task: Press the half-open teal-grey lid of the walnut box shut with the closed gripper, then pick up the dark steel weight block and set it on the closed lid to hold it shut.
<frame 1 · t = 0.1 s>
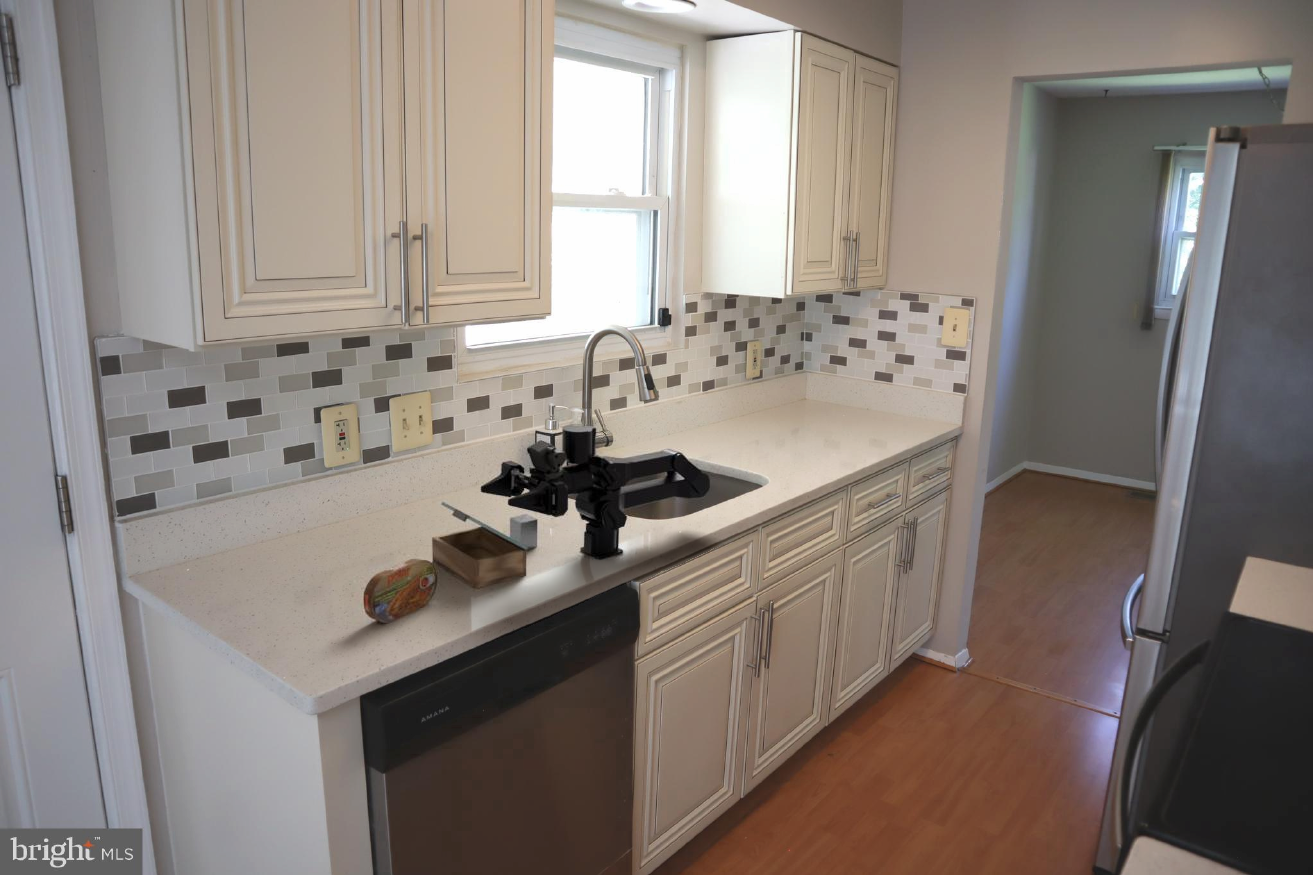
hand: (494, 495, 167), 17 cm above the worktop, tool horizontal, fingers open, 9 cm apart
weight: (523, 546, 189), on the worktop
lid: (481, 526, 175), point 8 cm above the worktop, hinge at 35.0°
box: (478, 568, 177), on the worktop
tin: (401, 613, 157), on the worktop
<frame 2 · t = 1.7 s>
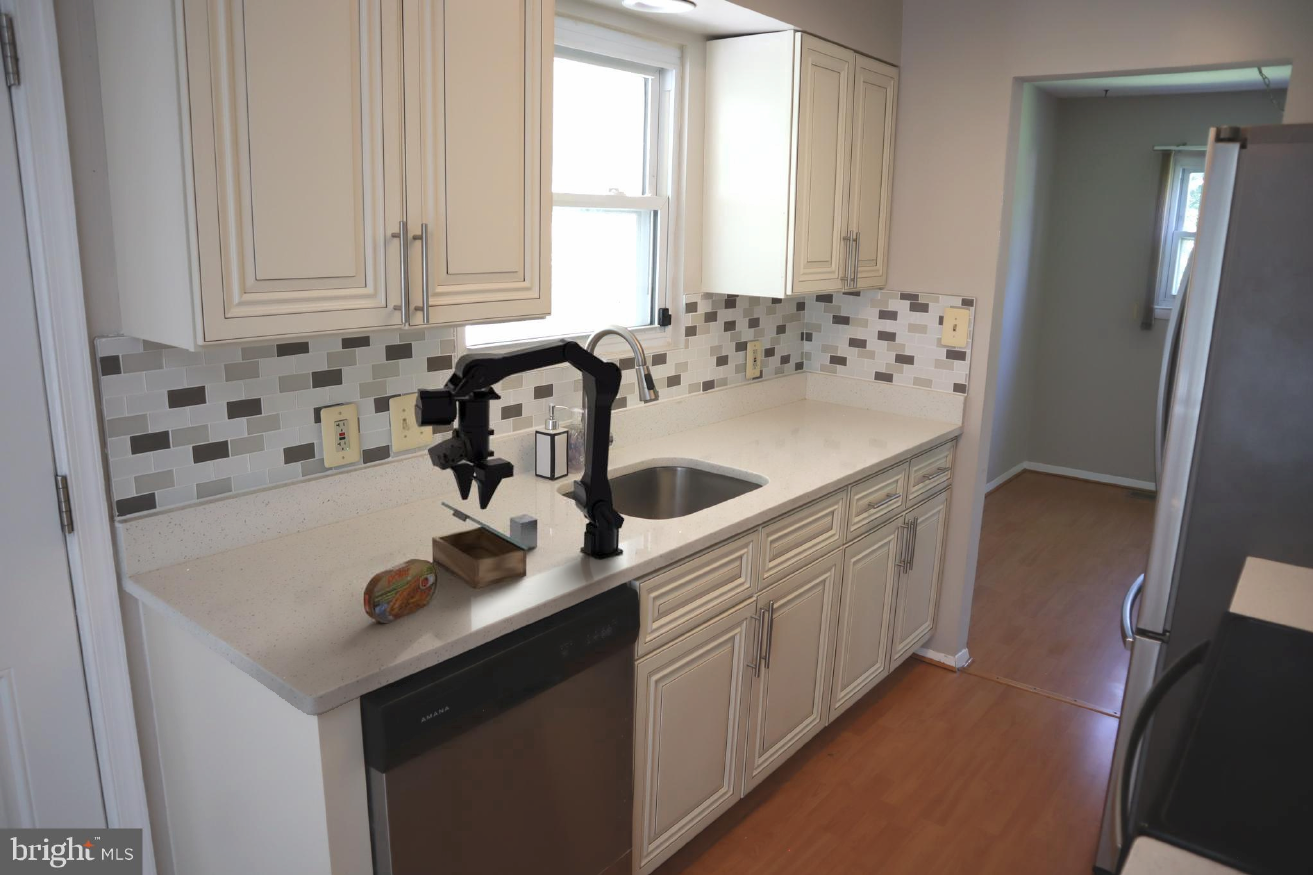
hand: (473, 504, 173), 13 cm above the worktop, tool pointing down, fingers open, 6 cm apart
nothing on the worktop moved.
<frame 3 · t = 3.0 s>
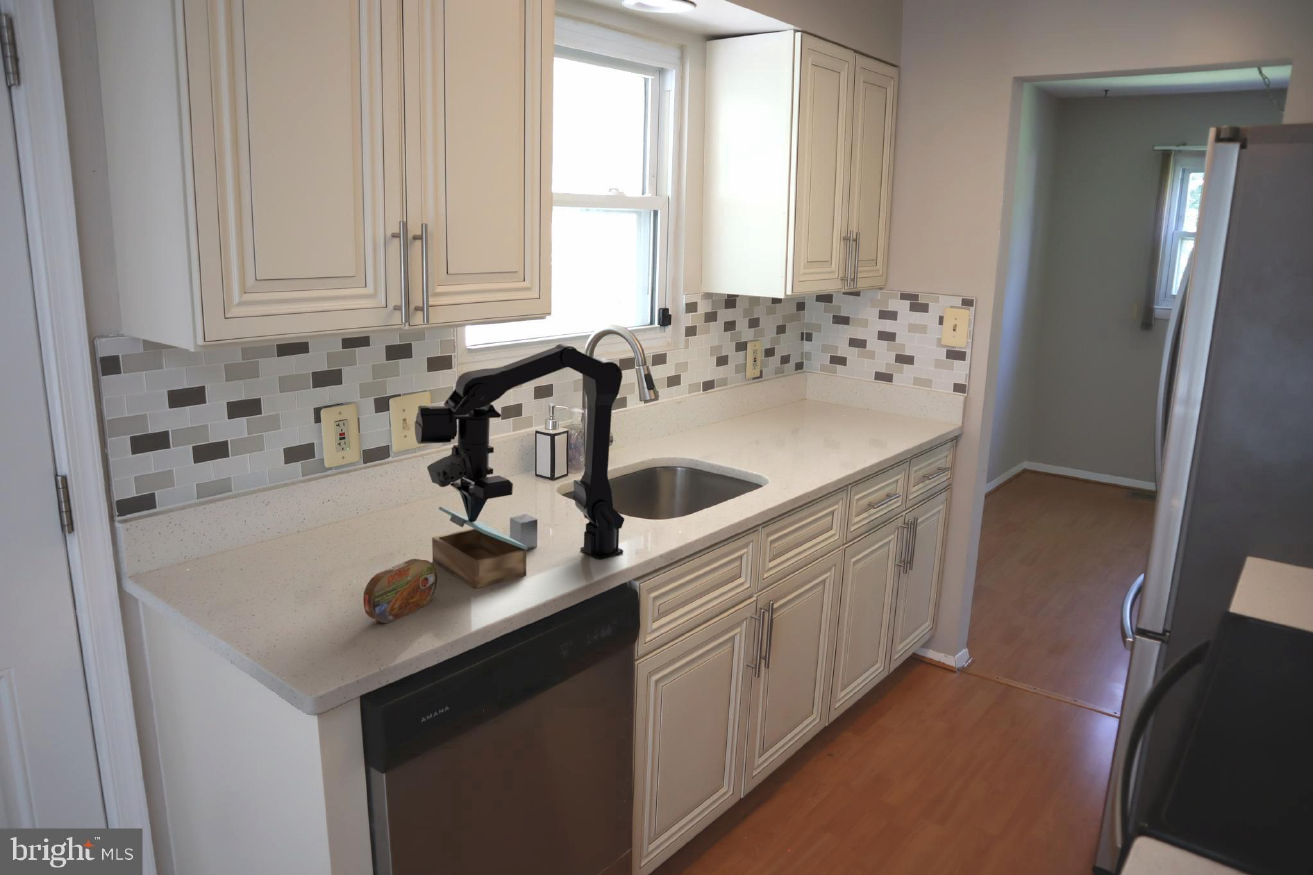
hand: (472, 521, 173), 10 cm above the worktop, tool pointing down, fingers closed, pressing on lid
lid: (480, 529, 175), point 8 cm above the worktop, hinge at 29.6°, touching gripper
everything else where it was.
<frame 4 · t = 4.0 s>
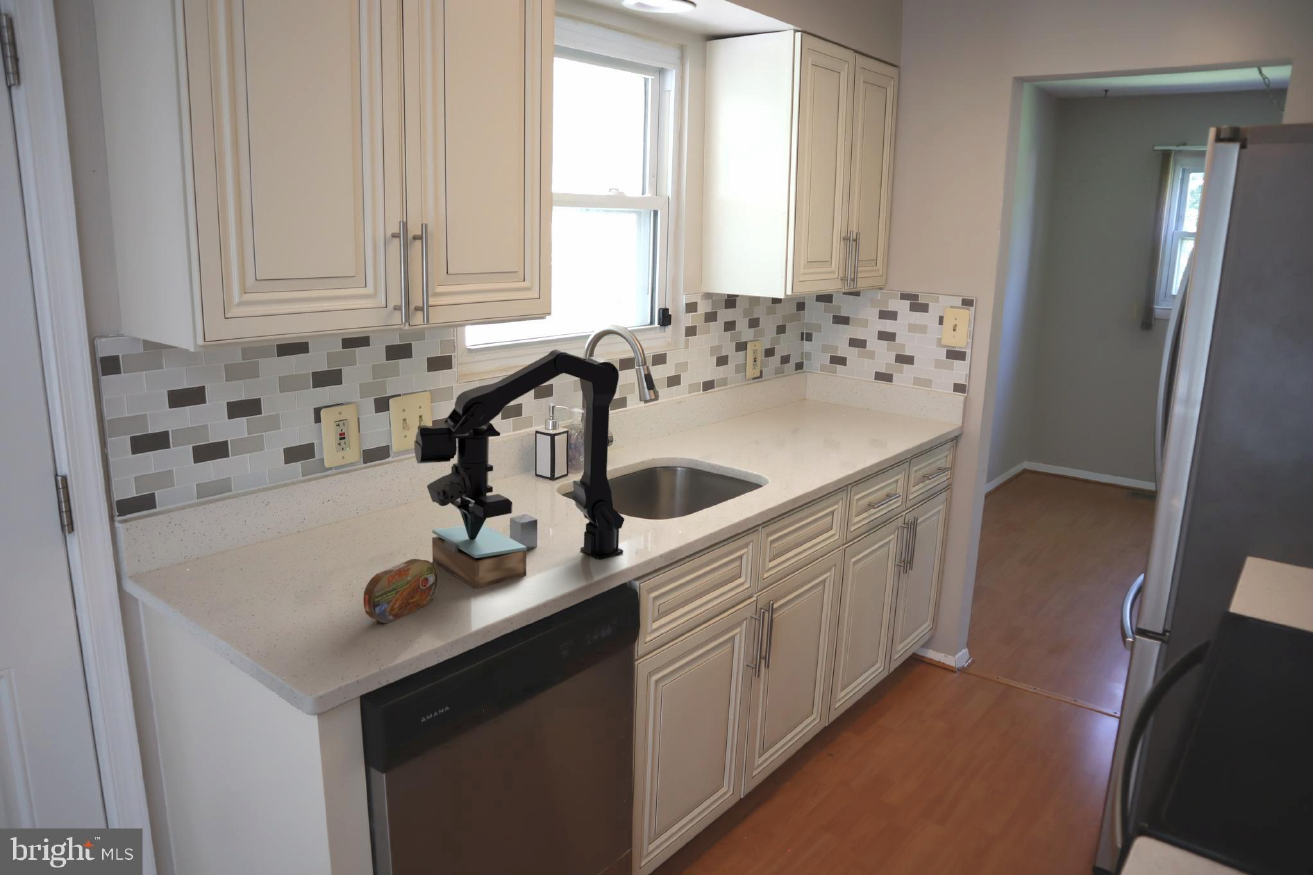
hand: (472, 539, 174), 6 cm above the worktop, tool pointing down, fingers closed, pressing on lid
lid: (477, 542, 175), point 5 cm above the worktop, hinge at 4.9°, touching box, gripper
everything else where it was.
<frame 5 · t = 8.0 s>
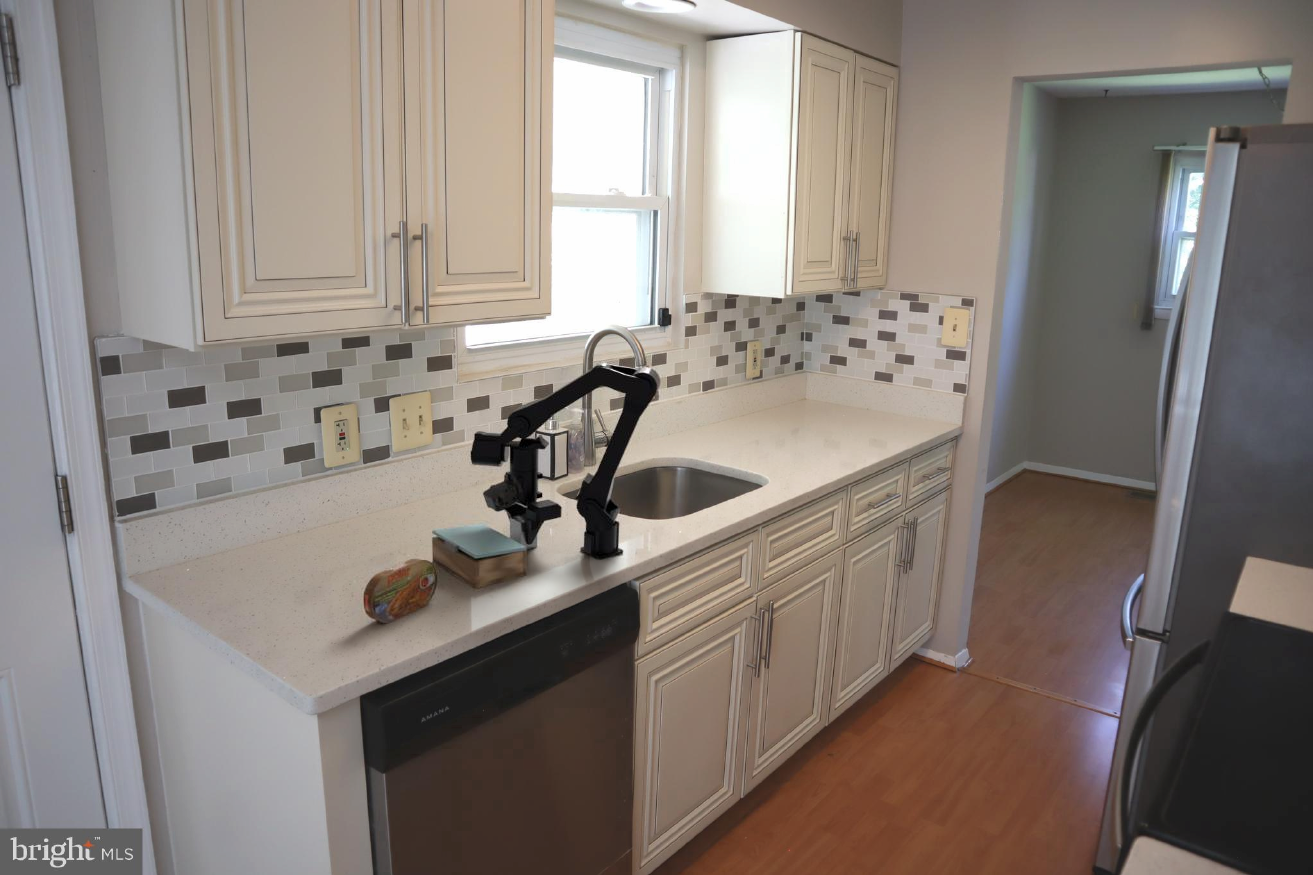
hand: (523, 541, 189), 1 cm above the worktop, tool pointing down, fingers closed on weight, 4 cm apart
weight: (523, 545, 189), on the worktop, touching gripper
lid: (477, 542, 175), point 5 cm above the worktop, hinge at 4.4°
everything else where it was.
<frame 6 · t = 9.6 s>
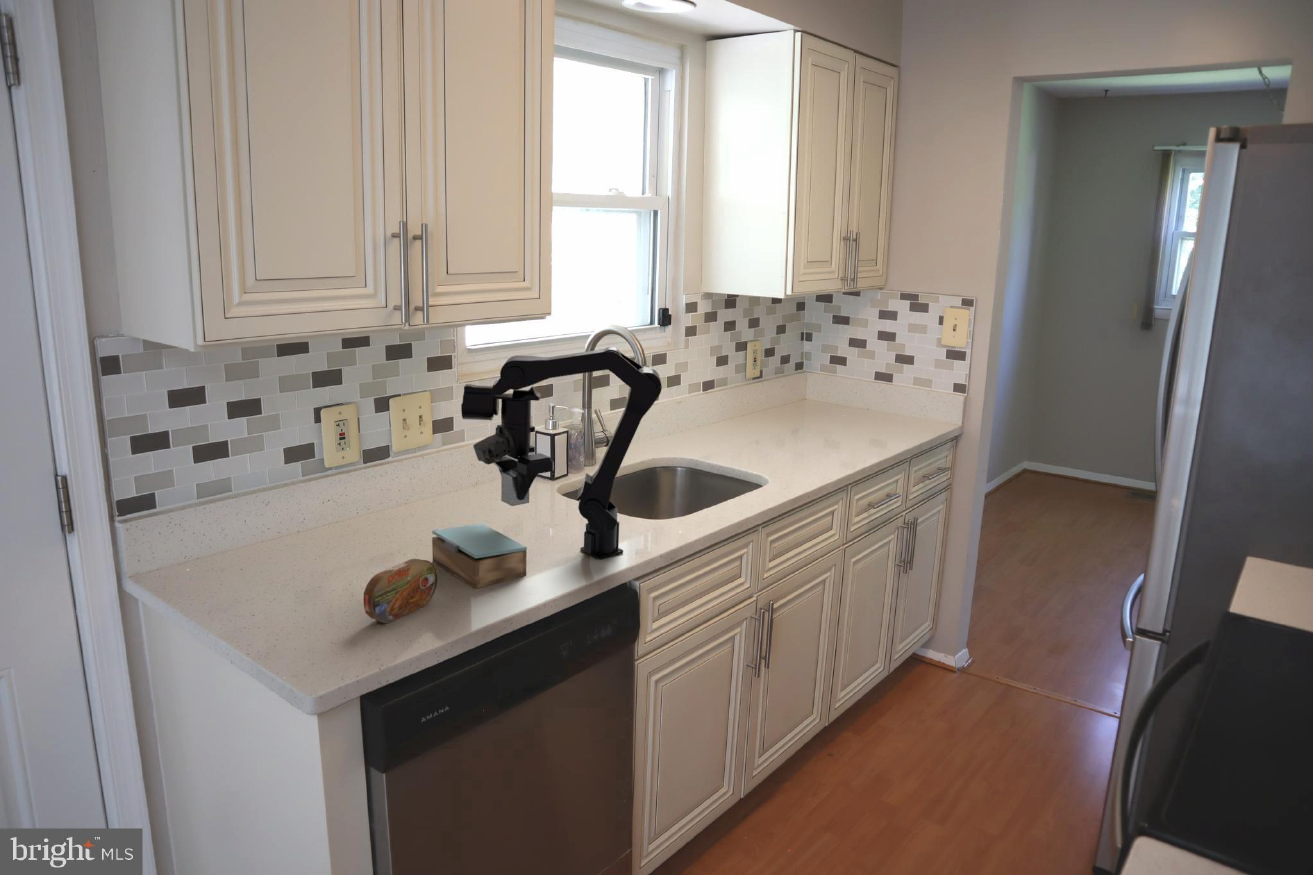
hand: (515, 496, 184), 11 cm above the worktop, tool pointing down, fingers closed on weight, 4 cm apart
weight: (515, 501, 184), point 10 cm above the worktop, touching gripper
everything else where it was.
when the fingers open (9 cm above the worktop, at t = 11.2 s): weight drops 2 cm, resting on lid.
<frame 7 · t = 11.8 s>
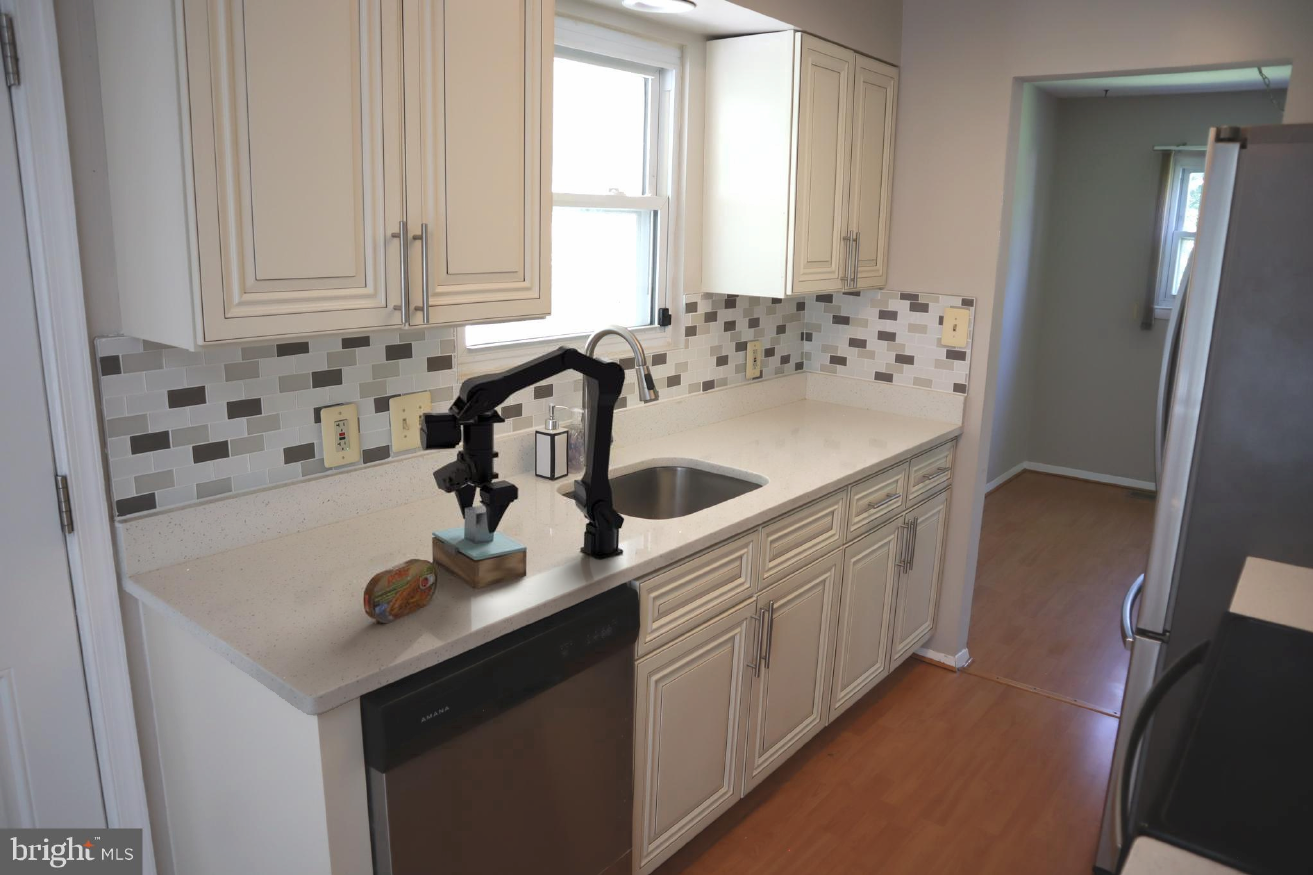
hand: (478, 525, 174), 9 cm above the worktop, tool pointing down, fingers open, 9 cm apart
weight: (478, 539, 175), point 6 cm above the worktop, touching lid
lid: (477, 543, 175), point 5 cm above the worktop, hinge at 2.6°, touching box, weight
everything else where it was.
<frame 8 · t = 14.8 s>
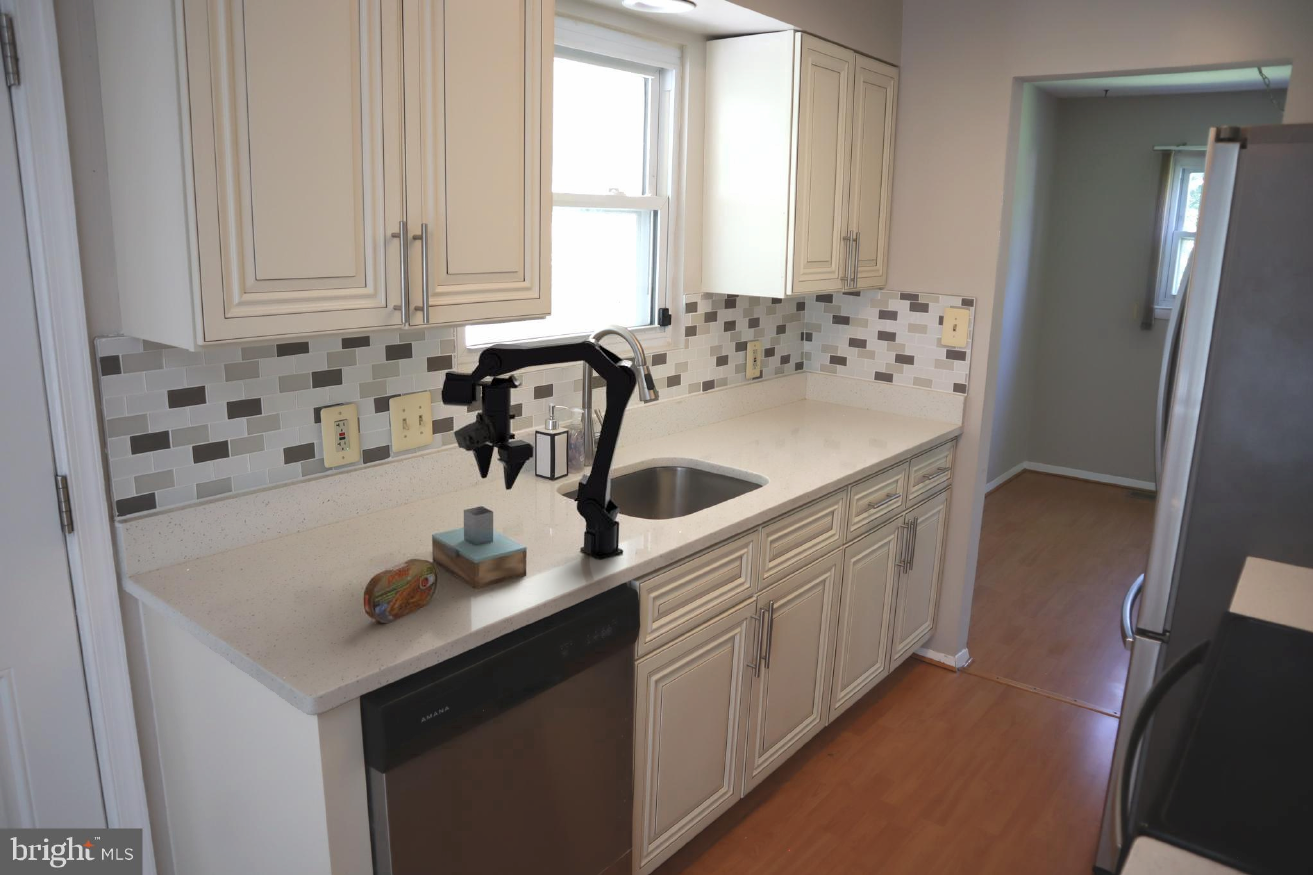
hand: (496, 483, 186), 13 cm above the worktop, tool pointing down, fingers open, 9 cm apart
lid: (477, 544, 175), point 5 cm above the worktop, hinge at 0.0°, touching box, weight
everything else where it was.
at the end: lid at +0° (first picture: +35°); weight inside the target area on the box (0.0 cm from its centre), point 5.6 cm above the box's base; weight tilted 0° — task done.
